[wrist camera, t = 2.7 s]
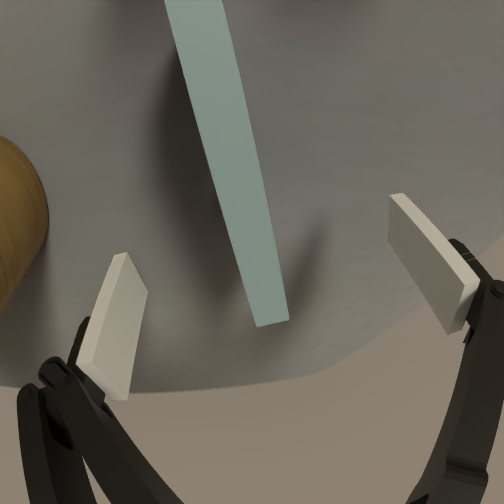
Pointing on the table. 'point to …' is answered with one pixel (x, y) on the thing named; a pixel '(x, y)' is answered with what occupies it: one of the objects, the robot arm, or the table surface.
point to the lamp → (18, 218)
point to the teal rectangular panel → (230, 149)
